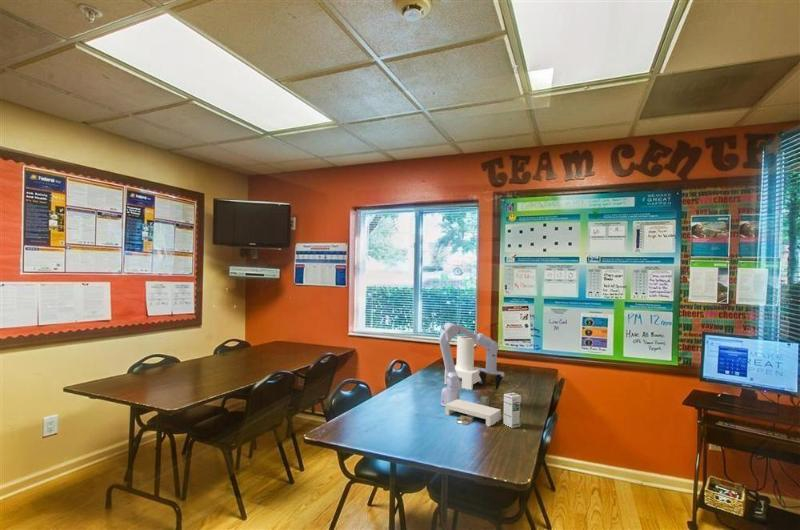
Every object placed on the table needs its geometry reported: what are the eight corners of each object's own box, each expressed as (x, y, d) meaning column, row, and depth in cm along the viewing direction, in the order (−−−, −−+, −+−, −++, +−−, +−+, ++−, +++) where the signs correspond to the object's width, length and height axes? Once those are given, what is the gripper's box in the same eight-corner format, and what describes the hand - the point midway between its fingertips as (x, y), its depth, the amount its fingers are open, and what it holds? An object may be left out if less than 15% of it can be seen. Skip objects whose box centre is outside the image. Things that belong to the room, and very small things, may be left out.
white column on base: (458, 378, 275) (459, 334, 275) (484, 384, 264) (485, 337, 264) (444, 384, 260) (445, 337, 260) (471, 390, 249) (472, 340, 249)
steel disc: (453, 422, 193) (453, 419, 193) (463, 420, 197) (463, 417, 197) (462, 426, 188) (462, 423, 188) (471, 424, 192) (471, 421, 192)
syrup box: (511, 428, 187) (512, 396, 187) (502, 424, 192) (503, 393, 193) (520, 426, 190) (521, 395, 190) (512, 422, 195) (512, 391, 195)
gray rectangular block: (480, 408, 214) (480, 395, 214) (491, 411, 210) (491, 397, 210) (460, 419, 197) (460, 404, 197) (471, 422, 193) (471, 407, 193)
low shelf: (445, 414, 203) (445, 404, 203) (457, 408, 212) (457, 399, 213) (489, 426, 188) (490, 415, 188) (500, 419, 198) (500, 409, 198)
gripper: (506, 363, 220) (506, 388, 219) (482, 359, 229) (481, 383, 228) (501, 365, 214) (500, 391, 214) (476, 361, 223) (475, 385, 223)
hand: (490, 387), depth 221 cm, fingers open, 7 cm apart
